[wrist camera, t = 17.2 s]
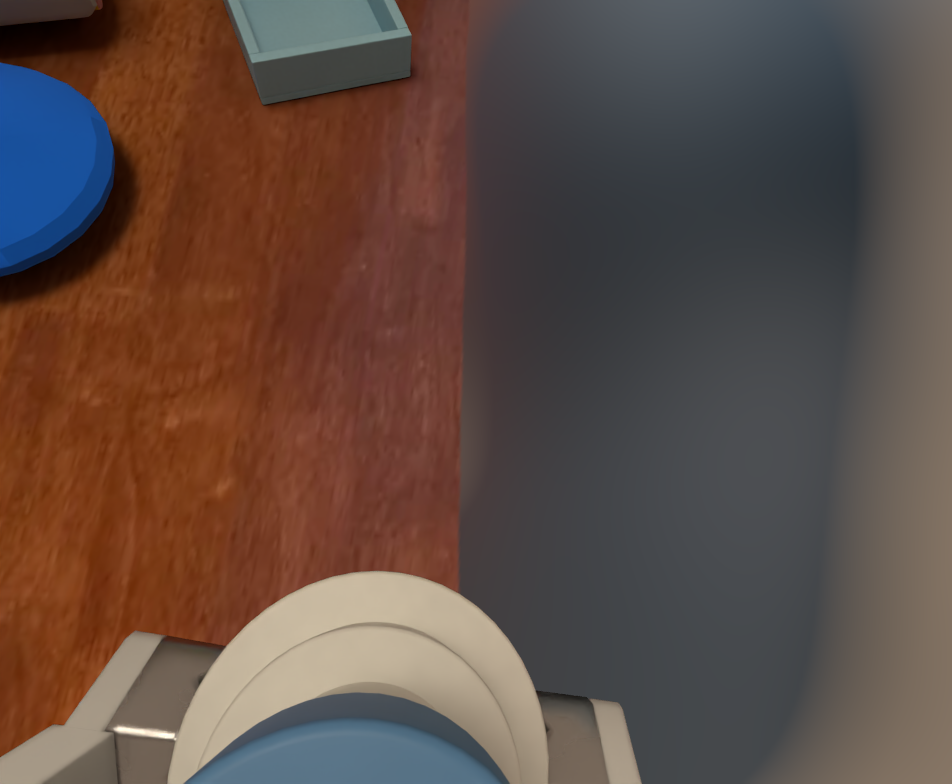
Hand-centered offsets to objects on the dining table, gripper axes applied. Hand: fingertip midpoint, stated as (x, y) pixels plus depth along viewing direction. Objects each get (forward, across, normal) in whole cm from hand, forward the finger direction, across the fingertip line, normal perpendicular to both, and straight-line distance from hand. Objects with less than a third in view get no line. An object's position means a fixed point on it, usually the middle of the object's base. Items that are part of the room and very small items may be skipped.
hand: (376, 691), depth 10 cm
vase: (+32, +30, +1) cm, 44 cm away
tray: (+46, +14, -13) cm, 50 cm away
